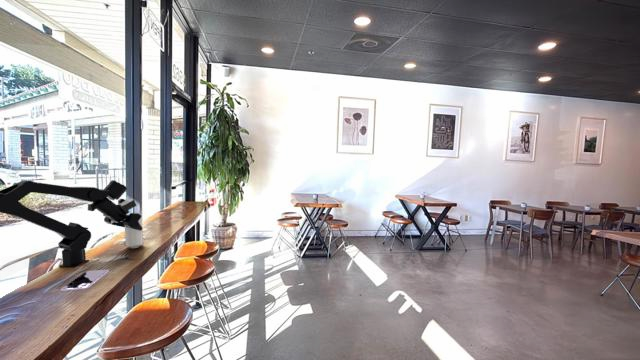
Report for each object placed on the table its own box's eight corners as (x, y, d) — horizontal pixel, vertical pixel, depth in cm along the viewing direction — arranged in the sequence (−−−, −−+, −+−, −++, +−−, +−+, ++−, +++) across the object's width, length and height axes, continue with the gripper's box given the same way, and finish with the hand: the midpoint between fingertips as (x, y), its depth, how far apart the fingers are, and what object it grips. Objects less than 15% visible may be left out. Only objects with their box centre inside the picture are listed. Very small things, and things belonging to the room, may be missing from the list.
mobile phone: (110, 268, 105) (87, 286, 90) (110, 271, 105) (87, 289, 91) (85, 270, 103) (58, 289, 89) (86, 273, 103) (58, 292, 89)
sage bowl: (136, 248, 129) (135, 242, 129) (126, 248, 129) (126, 242, 129) (142, 245, 134) (142, 239, 133) (133, 245, 134) (133, 239, 134)
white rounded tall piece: (131, 246, 127) (130, 219, 126) (122, 244, 130) (121, 218, 129) (146, 242, 133) (145, 216, 132) (137, 241, 136) (136, 215, 135)
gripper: (135, 194, 122) (161, 216, 132) (110, 192, 130) (136, 212, 141) (116, 216, 115) (145, 237, 126) (91, 212, 124) (119, 232, 134)
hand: (136, 228), depth 132 cm, fingers closed on white rounded tall piece, 7 cm apart
